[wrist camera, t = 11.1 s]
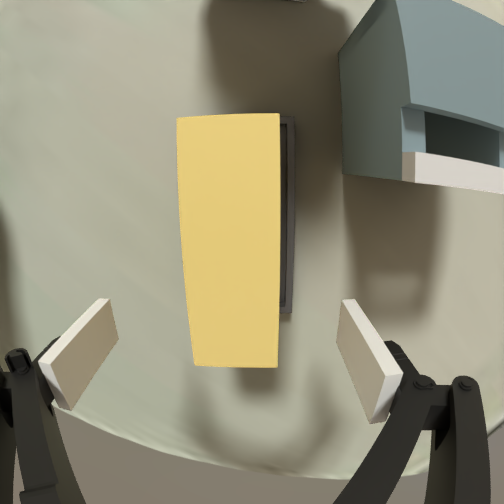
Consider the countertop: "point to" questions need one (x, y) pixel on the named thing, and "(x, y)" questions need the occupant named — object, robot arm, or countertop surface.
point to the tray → (287, 212)
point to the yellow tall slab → (231, 236)
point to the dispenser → (424, 95)
